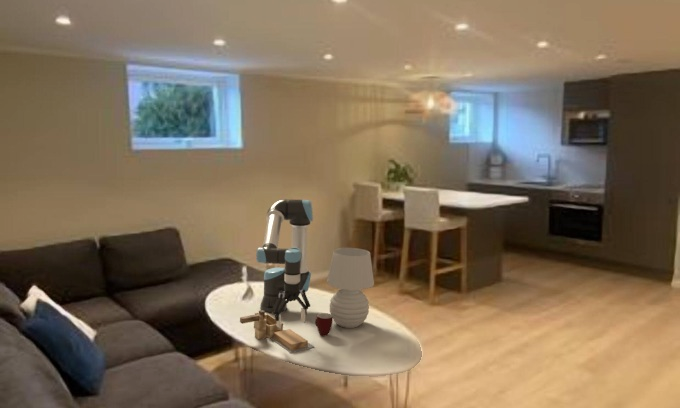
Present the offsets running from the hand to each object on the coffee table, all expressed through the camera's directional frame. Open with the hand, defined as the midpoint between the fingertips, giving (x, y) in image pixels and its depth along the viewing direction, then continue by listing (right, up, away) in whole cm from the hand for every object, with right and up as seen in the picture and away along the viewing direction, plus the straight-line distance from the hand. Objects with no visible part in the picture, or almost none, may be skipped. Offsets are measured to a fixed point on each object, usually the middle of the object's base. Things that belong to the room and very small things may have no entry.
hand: (290, 324), depth 248 cm
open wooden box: (-15, -7, +13) cm, 21 cm away
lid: (0, -9, +1) cm, 9 cm away
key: (-19, +1, +2) cm, 19 cm away
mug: (+15, -9, +14) cm, 22 cm away
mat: (0, -9, +1) cm, 10 cm away
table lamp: (+28, -7, +29) cm, 41 cm away
